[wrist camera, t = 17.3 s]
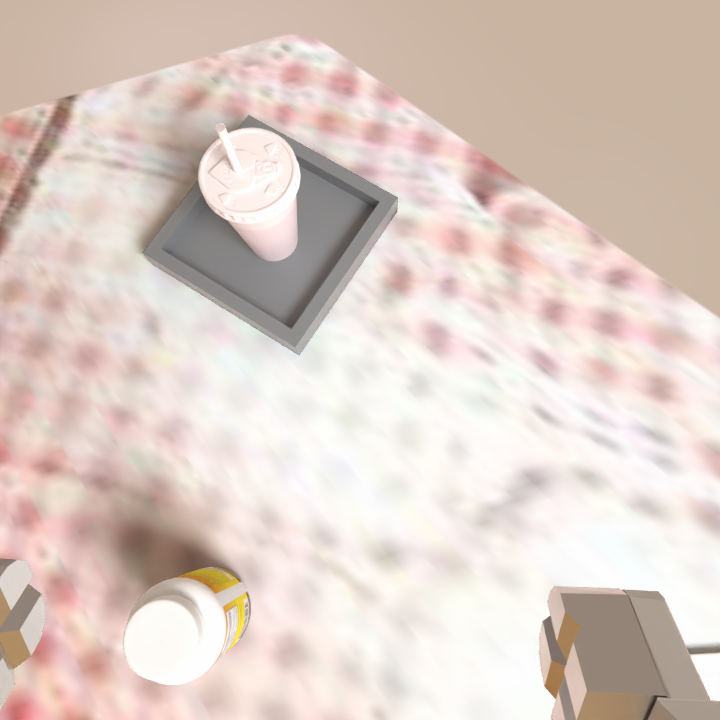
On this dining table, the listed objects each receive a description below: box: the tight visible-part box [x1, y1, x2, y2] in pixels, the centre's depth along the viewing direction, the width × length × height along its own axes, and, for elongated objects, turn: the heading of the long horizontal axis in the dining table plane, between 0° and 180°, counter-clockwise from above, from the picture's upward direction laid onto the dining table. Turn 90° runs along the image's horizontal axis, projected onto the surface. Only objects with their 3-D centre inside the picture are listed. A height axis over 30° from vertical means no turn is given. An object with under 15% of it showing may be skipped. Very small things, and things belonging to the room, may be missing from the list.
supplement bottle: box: [123, 567, 251, 685], centre depth 36 cm, size 6×6×10 cm
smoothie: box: [198, 123, 301, 261], centre depth 40 cm, size 6×6×14 cm
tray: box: [142, 115, 398, 355], centre depth 47 cm, size 14×14×2 cm
